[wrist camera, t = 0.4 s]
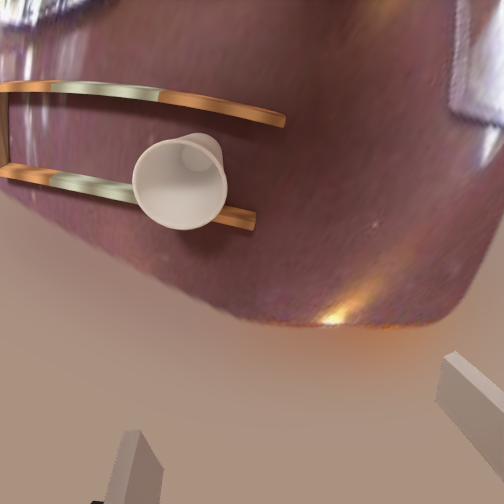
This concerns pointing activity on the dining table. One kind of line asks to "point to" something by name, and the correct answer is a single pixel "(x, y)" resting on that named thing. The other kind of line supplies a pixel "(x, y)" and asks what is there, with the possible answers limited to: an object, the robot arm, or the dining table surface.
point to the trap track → (108, 187)
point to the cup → (181, 181)
